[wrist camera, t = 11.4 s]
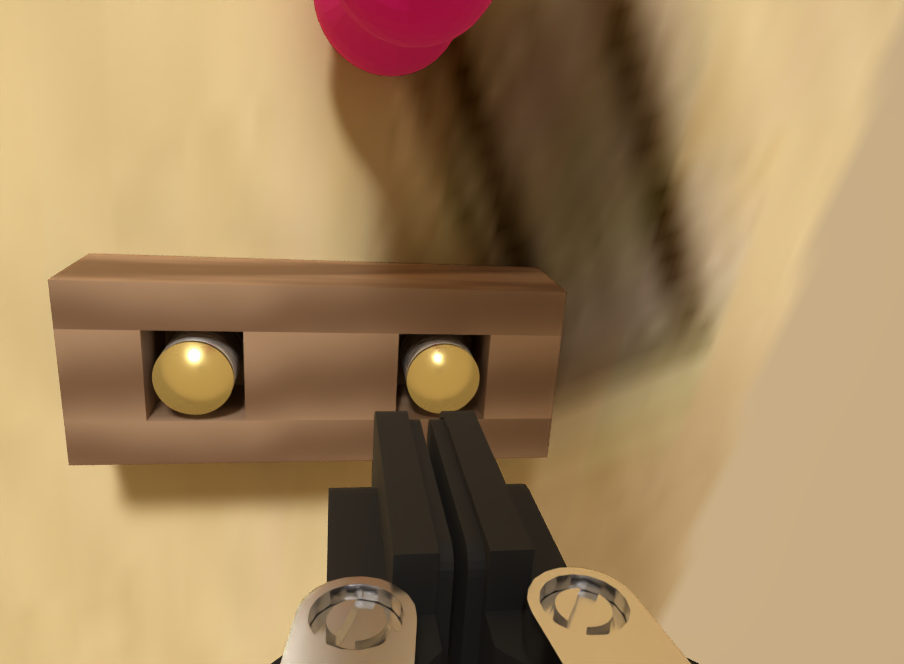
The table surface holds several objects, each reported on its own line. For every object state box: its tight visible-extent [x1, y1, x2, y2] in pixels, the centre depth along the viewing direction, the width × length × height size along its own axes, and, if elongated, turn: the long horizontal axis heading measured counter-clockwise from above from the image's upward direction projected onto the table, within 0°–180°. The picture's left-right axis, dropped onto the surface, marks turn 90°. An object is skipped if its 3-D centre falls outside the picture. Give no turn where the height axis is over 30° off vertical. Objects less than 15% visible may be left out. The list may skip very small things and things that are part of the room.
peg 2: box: [400, 334, 480, 413], centre depth 40 cm, size 4×4×4 cm
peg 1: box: [152, 331, 244, 415], centre depth 38 cm, size 4×4×4 cm
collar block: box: [48, 254, 567, 465], centre depth 40 cm, size 10×26×6 cm, turn 86°
